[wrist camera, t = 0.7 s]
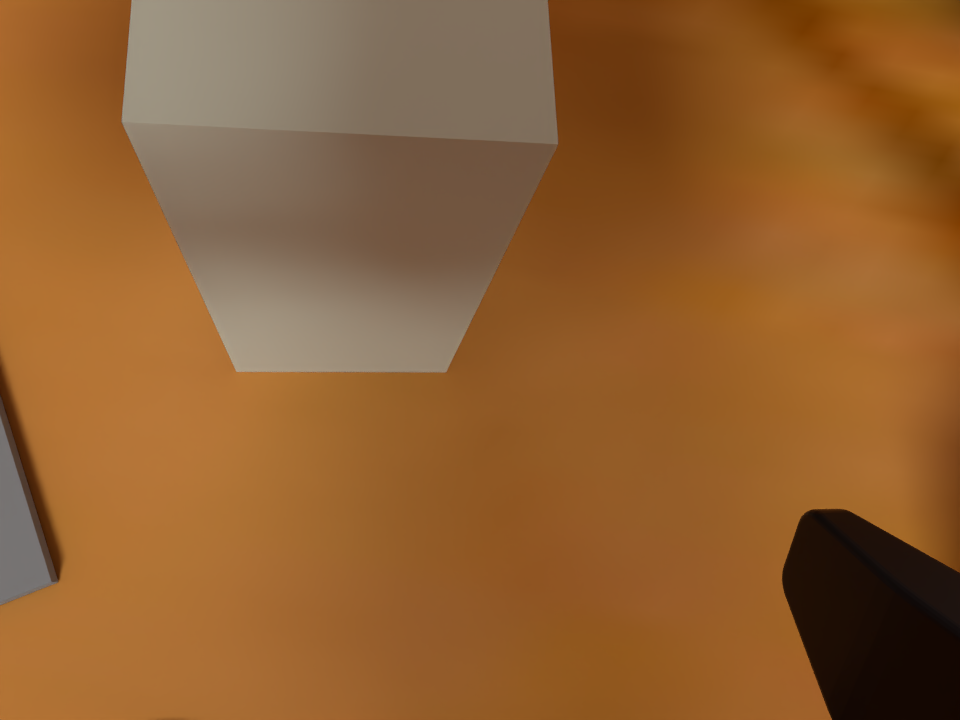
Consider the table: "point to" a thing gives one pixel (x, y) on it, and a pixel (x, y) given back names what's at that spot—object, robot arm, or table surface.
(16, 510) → the slate mat
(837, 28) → the table surface
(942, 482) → the table surface
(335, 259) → the sage pillar
